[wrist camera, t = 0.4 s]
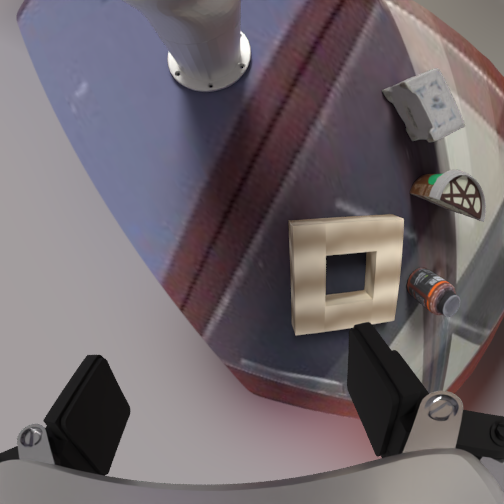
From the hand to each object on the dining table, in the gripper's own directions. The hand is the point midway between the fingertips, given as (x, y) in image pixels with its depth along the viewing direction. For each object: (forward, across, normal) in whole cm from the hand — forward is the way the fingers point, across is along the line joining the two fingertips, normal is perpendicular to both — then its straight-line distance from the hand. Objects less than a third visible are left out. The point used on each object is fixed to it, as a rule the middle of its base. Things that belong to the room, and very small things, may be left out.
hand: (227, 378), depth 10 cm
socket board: (+36, -16, +11) cm, 41 cm away
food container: (+36, -35, -1) cm, 50 cm away
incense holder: (+36, -31, -15) cm, 50 cm away
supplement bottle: (+36, -32, +16) cm, 51 cm away
